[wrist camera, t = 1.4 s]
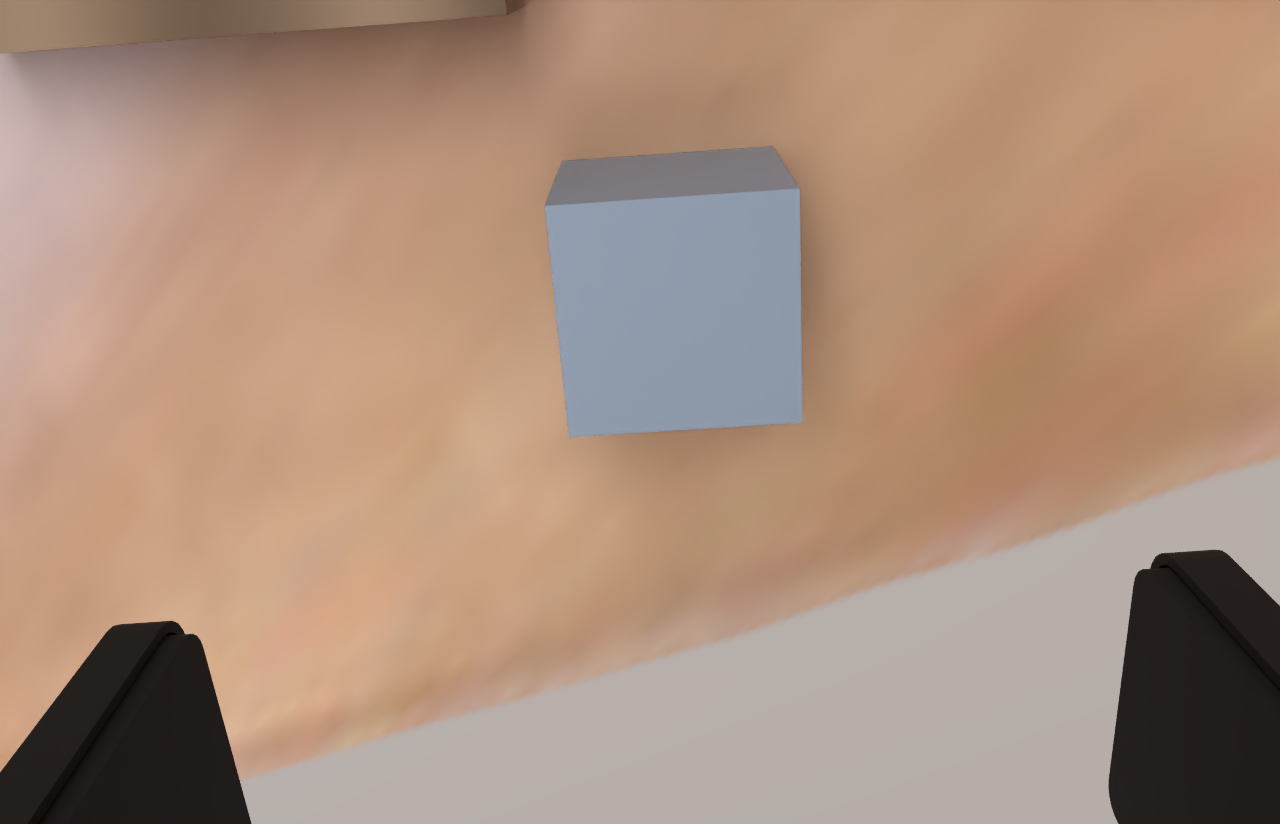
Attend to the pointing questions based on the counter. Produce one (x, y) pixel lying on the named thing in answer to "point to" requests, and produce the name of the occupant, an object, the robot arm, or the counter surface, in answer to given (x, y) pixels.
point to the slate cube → (677, 291)
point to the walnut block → (209, 18)
